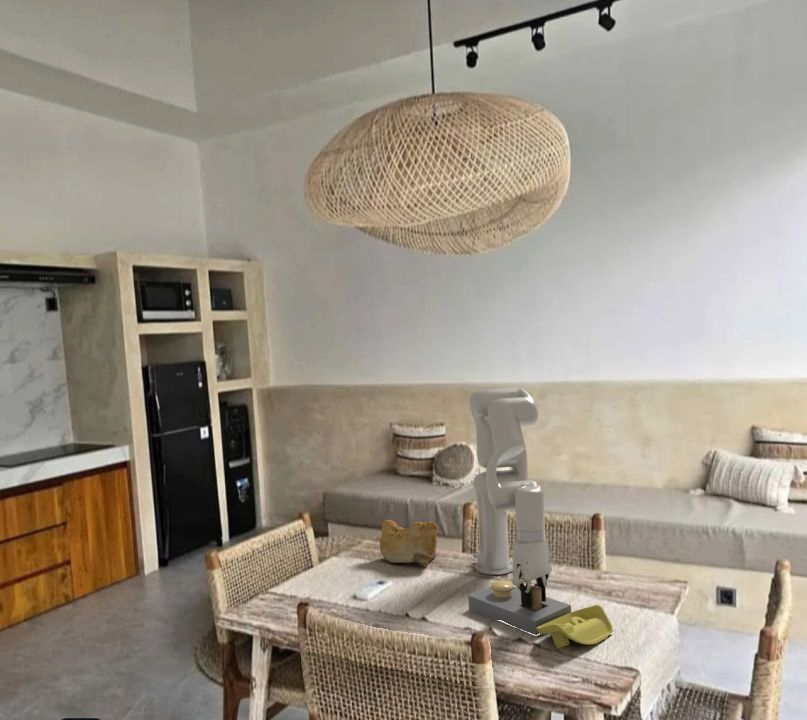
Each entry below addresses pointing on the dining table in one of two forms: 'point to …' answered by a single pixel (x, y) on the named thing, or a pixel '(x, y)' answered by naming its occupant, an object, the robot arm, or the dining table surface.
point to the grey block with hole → (514, 607)
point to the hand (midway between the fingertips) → (533, 602)
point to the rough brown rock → (409, 542)
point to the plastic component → (579, 627)
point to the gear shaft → (536, 598)
